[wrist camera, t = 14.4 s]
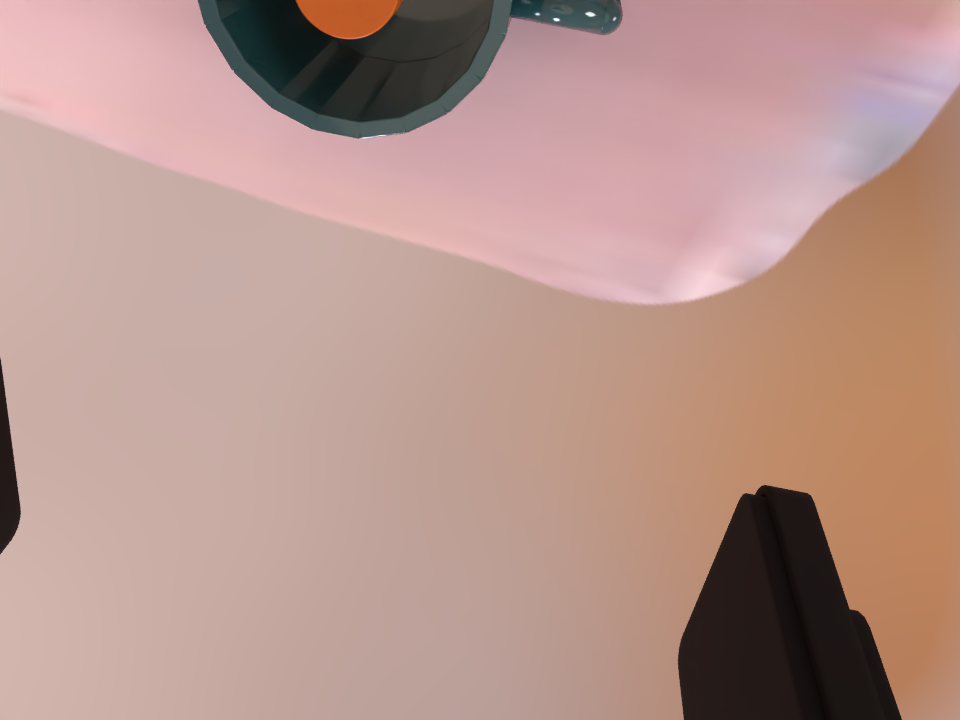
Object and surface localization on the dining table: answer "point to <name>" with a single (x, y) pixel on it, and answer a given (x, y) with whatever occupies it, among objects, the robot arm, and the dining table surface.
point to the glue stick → (349, 16)
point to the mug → (380, 57)
